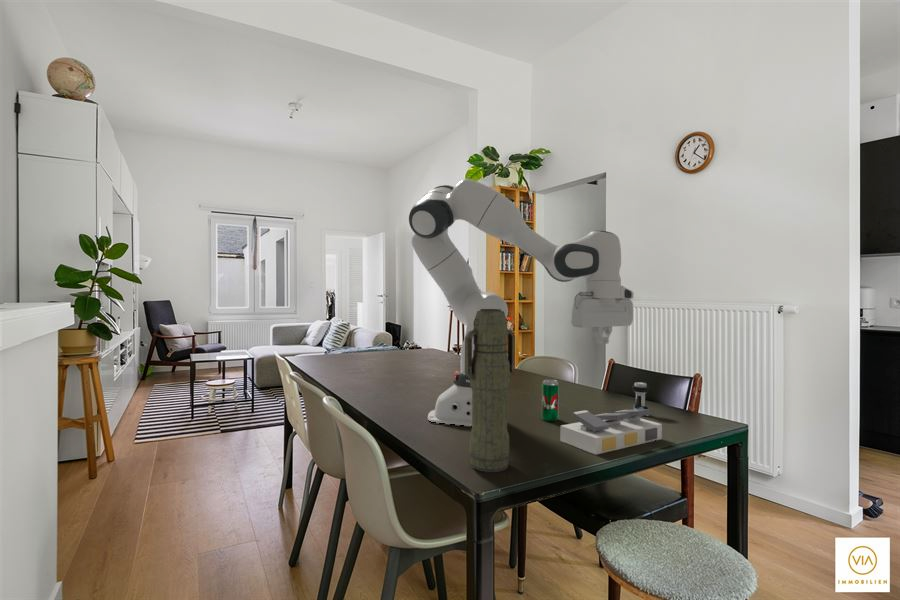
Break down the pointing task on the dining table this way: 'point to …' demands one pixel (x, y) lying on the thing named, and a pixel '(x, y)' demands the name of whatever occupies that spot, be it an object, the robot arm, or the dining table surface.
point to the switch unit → (611, 434)
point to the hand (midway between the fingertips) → (602, 343)
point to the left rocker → (590, 420)
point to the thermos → (489, 388)
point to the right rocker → (635, 412)
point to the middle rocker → (613, 416)
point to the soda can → (550, 400)
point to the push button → (640, 395)
